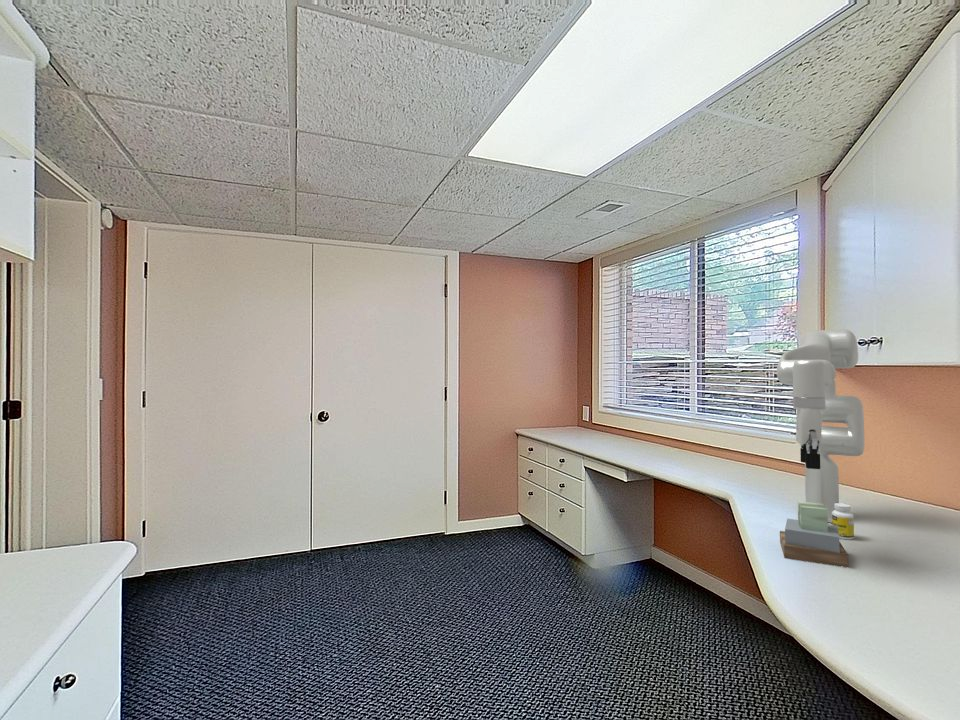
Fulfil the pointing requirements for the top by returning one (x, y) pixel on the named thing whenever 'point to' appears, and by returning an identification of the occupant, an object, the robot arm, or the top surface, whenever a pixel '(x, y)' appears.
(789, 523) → the tower top block
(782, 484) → the top surface
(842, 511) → the supplement bottle
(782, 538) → the tower base block
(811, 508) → the sage cube
